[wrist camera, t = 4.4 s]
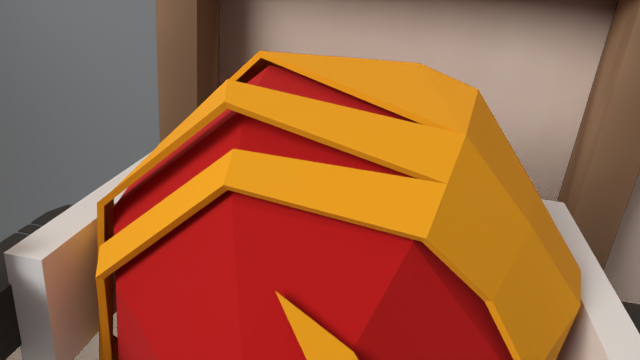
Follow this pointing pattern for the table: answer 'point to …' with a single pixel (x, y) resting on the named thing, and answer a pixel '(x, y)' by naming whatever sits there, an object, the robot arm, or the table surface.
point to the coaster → (72, 100)
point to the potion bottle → (333, 226)
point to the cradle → (590, 146)
